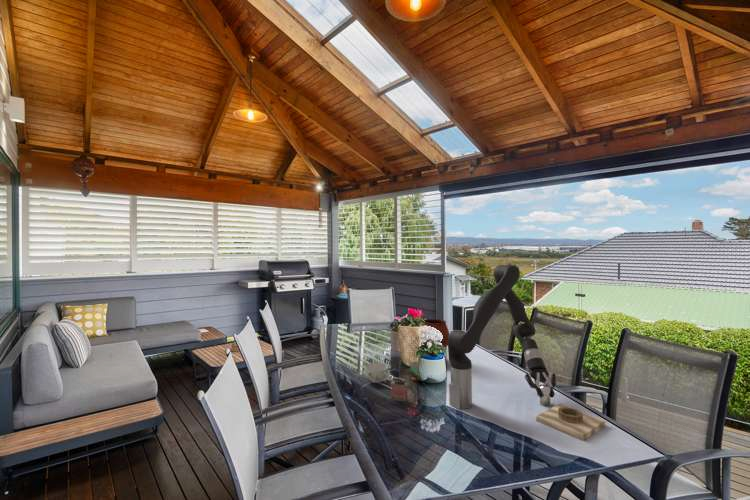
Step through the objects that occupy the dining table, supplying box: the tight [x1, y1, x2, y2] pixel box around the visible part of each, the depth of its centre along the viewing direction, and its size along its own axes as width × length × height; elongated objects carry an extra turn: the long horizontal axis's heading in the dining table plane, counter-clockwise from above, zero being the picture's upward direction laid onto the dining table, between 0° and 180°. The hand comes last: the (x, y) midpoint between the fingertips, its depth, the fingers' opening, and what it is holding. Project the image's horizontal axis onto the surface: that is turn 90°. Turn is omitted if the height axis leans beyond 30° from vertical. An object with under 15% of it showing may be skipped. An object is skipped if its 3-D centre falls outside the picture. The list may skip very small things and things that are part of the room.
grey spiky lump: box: [364, 361, 389, 384], centre depth 185 cm, size 15×12×8 cm
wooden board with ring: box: [535, 403, 606, 442], centre depth 140 cm, size 18×18×4 cm
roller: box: [539, 383, 552, 407], centre depth 157 cm, size 4×4×8 cm
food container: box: [408, 360, 421, 382], centre depth 187 cm, size 12×6×10 cm, turn 117°
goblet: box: [422, 318, 450, 349], centre depth 217 cm, size 19×19×25 cm
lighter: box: [390, 376, 409, 402], centre depth 164 cm, size 8×3×10 cm, turn 65°
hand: (547, 396), depth 155 cm, fingers closed on roller, 4 cm apart
